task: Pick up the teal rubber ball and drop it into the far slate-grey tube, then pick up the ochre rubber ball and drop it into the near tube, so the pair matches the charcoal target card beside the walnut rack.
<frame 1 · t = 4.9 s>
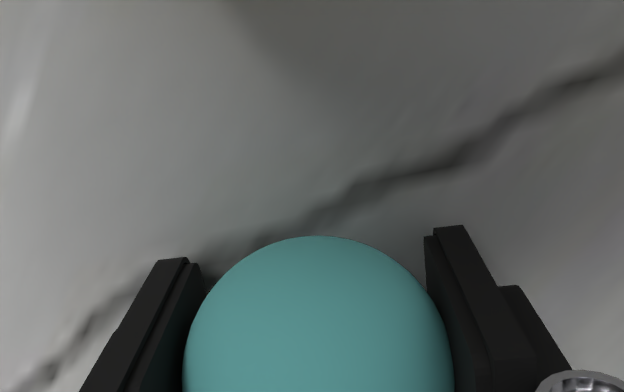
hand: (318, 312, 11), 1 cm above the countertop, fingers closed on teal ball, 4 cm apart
teal ball: (318, 295, 11), on the countertop, touching gripper
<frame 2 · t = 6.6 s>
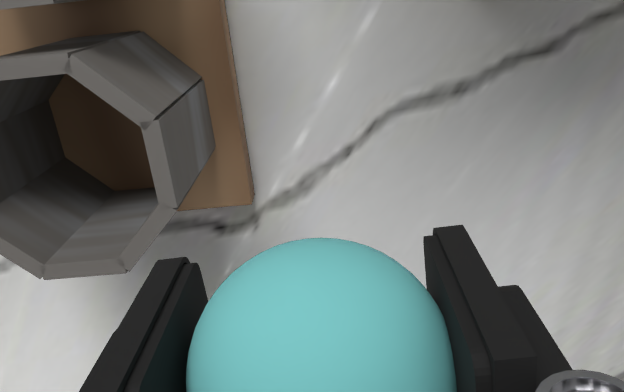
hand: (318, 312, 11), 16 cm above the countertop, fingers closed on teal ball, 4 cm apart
teal ball: (321, 297, 11), point 15 cm above the countertop, touching gripper
tube rack: (111, 14, 24), on the countertop
when the fingers open (10 cm above the countertop, at t = 8.2 s): teal ball drops 8 cm, resting on tube rack.
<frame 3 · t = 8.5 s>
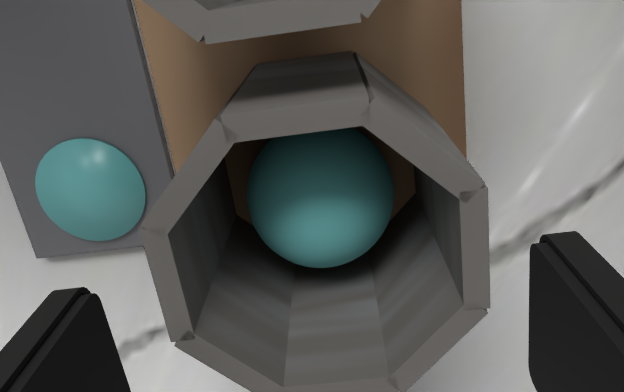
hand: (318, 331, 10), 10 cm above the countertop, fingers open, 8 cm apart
target card: (59, 65, 19), on the countertop
teal ball: (320, 169, 19), point 1 cm above the countertop, touching tube rack
tube rack: (302, 31, 18), on the countertop
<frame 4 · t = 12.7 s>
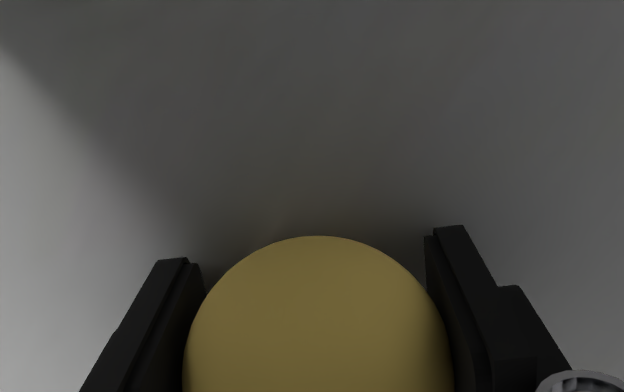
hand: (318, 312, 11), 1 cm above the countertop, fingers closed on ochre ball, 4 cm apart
ochre ball: (318, 295, 11), on the countertop, touching gripper
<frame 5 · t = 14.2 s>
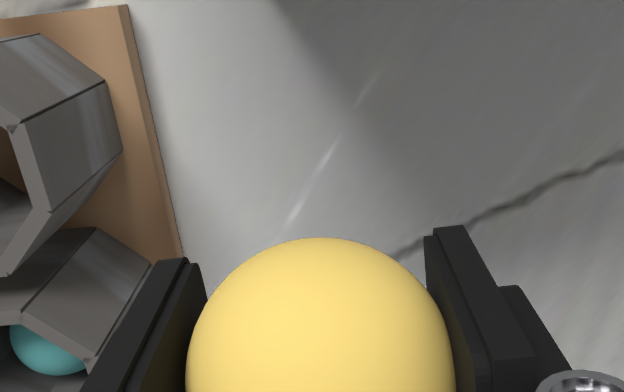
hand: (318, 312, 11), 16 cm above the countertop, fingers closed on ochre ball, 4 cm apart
teal ball: (86, 297, 28), point 1 cm above the countertop, tilted 5°, touching tube rack
tube rack: (71, 206, 27), on the countertop
ochre ball: (321, 297, 11), point 15 cm above the countertop, touching gripper
when the fingers open (10 cm above the countertop, at t = 15.9 s): ochre ball drops 8 cm, resting on tube rack.
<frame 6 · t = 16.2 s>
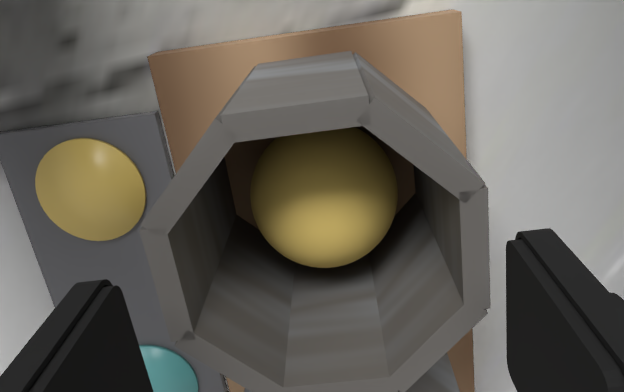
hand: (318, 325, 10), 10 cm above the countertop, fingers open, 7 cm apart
target card: (127, 288, 22), on the countertop
tube rack: (335, 265, 22), on the countertop
ochre ball: (318, 170, 19), point 1 cm above the countertop, touching tube rack
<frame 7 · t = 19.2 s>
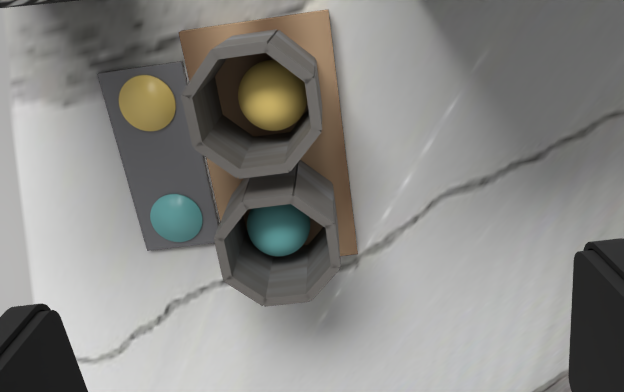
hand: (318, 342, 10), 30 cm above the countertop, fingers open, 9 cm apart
target card: (164, 161, 41), on the countertop
teal ball: (284, 209, 41), point 1 cm above the countertop, tilted 9°, touching tube rack
tube rack: (276, 146, 40), on the countertop
ochre ball: (263, 90, 37), point 1 cm above the countertop, tilted 22°, touching tube rack
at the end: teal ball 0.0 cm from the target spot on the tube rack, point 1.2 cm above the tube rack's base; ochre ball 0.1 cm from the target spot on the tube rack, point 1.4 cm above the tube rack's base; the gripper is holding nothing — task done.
